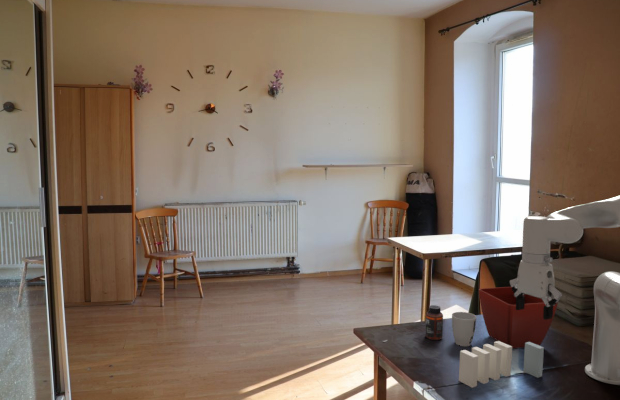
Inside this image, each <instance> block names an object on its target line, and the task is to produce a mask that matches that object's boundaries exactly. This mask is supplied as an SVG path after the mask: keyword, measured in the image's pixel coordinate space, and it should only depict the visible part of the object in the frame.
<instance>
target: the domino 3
mask: <svg viewBox="0 0 620 400" xmlns="http://www.w3.org/2000/svg"><path fill="white" fill-rule="evenodd" d="M482 349H483V350H485V351H487V352H490V364H489V379H492V380H493V381H497V380H500V379H501V374H500V366H501V349H499V348H497V347H494V345H492V344H489V343H485V344H483V345H482Z"/></svg>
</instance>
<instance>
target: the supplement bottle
mask: <svg viewBox="0 0 620 400" xmlns="http://www.w3.org/2000/svg"><path fill="white" fill-rule="evenodd" d="M425 314H426V315H425V337H426V338H427V339H429V340H432V341H439V340H441V339H443V332H444V331H443V330H444V328H443V327H444V325H443V324H444V314H443V313H442V312H441V306H440V305H433V304H432V305H429V307H428V311H427V312H426V313H425Z"/></svg>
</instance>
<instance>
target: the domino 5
mask: <svg viewBox="0 0 620 400" xmlns="http://www.w3.org/2000/svg"><path fill="white" fill-rule="evenodd" d="M544 350H545V347H544V346H541V345H540V346H539V345H536V344H534V343H531V342H527V343H525V347H524V353H523V355H524V356H523V372H524V373H526V374H528V375H531V376H533V377H535V378H538V379H539V378H541V377H543V371H544V370H543V366H544V365H543V364H544Z"/></svg>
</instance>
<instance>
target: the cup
mask: <svg viewBox="0 0 620 400" xmlns="http://www.w3.org/2000/svg"><path fill="white" fill-rule="evenodd" d="M476 324H477V316H476V315H475V314H474V313H470V312H466V311H465V312H464V311H456V312H453V313H451V325H452V326H451V328H452V333H453V339H454V342H455V345H457V346H459V345H460V346H459V347H469V346H471V344H472V342H473V340H474V337H475V333H476V332H475V331H476Z"/></svg>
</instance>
